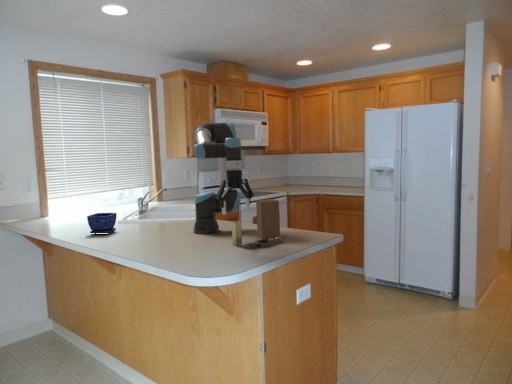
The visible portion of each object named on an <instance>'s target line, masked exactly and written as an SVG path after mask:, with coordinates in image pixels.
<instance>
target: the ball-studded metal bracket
mask: <svg viewBox="0 0 512 384" xmlns="http://www.w3.org/2000/svg"><path fill="white" fill-rule="evenodd" d="M283 243H284V238H281V236H280V237H275V238H269V239H262V238H261V239H258V240H252V241H249V242H245V243H243V246H244V249H246V250H253V249H258V248H260V249H263V248H268V247H273V246H274V245H277V244H283Z"/></svg>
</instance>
